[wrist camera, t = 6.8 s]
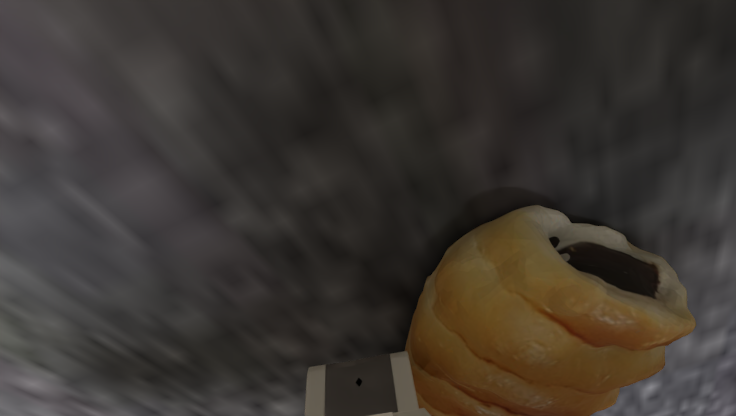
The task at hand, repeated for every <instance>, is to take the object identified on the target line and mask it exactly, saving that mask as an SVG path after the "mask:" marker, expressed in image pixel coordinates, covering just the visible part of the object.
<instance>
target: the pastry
mask: <svg viewBox="0 0 736 416" xmlns="http://www.w3.org/2000/svg"><path fill="white" fill-rule="evenodd" d="M695 326H696V322H695V319H694V317H693V316H692V314H691V313H690V311H689V310H688V308H687V293H686V289H685V288H684V286H683V285H682V284H681V283H680V281H679V280H678V276H677V274H676V272H675V271H674V270H673V269H672V268H671V266H670V265H669V264H668V263H667V261H666V260H665V259H664V258H662V257H661V256H658V255H655V254H653V253H650V252H647V251H644V250H641V249H639V248H637V247H635V246H633V245H632V244H631V243H630V242H628V241H627V240H626V237H625V236H624V235H623V234H621V233H619V232H617V231H615V230H613V229H610V228H608V227H606V226H595V225H591V224H584V223H571V222H570V221H569V219H568V217H567V216H565V215H564V214H563V213H561V212H559V211H557V210H553V209H549V208H545V207H542V206H540V205H533V206H527V207H523V208H520V209H517V210H514V211H512V212H509V213H507V214H505V215H503V216H501V217H499V218H497V219H495V220H493V221H490V222H487V223H484V224H482V225H480V226H478V227H476V228H475V229H473V230H471V231H470V232H468V233H467V234H465V235H464V236H463V237H461V238H460V239H459V240H457V241H456V242H455V243H454V244H452V245H451V246H450V247H448V249H447V251H446V252H445V254H444V256H443V258H442V260H441V261H440V263H439V265H438V266H437V268H436V269H435V271H434V272H433V273H432V274H431V275H430V276H428V277H427V279H426V283H425V286H424V290H423V292H422V294H421V295H420V297H419V301H418V304H417V308H416V310H415V312H414V315H413V318H412V323H411V327H410V330H409V334H408V338H407V342H406V347H405V351H407V352H408V355H409V360H410V365H411V370H412V375H413V380H414V385H415V391H416V396H417V401H418V406H419V408H425V409H426V410H427V411H428V413H429V414H430V415H431V416H590V415H591V414H593V413H595V412H597V411H600V410H604V409H606V408H608V407H610V406H612V405H614V404H615V403H616V400H617V397H618V394H619V389H620V387H624V386H628V385H631V384H633V383H635V382H638V381H640V380H643V379H646V378H649V377H651V376H652V375H654V374H656V373H657V372H659V371H660V370H662V369H663V367H664V366H665V357H664V354H665V346H666V345H669V344H670V343H672V342H673V341H675V340H677V339H679V338H681V337H683V336H686V335H688V334H689V333H691V332H692V331H693V329H694V328H695Z"/></svg>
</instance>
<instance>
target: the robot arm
mask: <svg viewBox="0 0 736 416" xmlns="http://www.w3.org/2000/svg"><path fill="white" fill-rule="evenodd" d="M390 358H391V359H390ZM305 416H431V415H430V414H429V413H428V411H427V410H426V409H425V408H419V406H418V401H417V396H416V391H415V385H414V380H413V375H412V370H411V365H410V360H409V355H408V352H407V351H403V352H397V353H392V354H383V355H378V356H372V357H367V358H361V359H356V360H352V361H345V362H339V363H333V364H325V365H319V366H313V367H309V369H308V373H307V385H306V402H305Z"/></svg>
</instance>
